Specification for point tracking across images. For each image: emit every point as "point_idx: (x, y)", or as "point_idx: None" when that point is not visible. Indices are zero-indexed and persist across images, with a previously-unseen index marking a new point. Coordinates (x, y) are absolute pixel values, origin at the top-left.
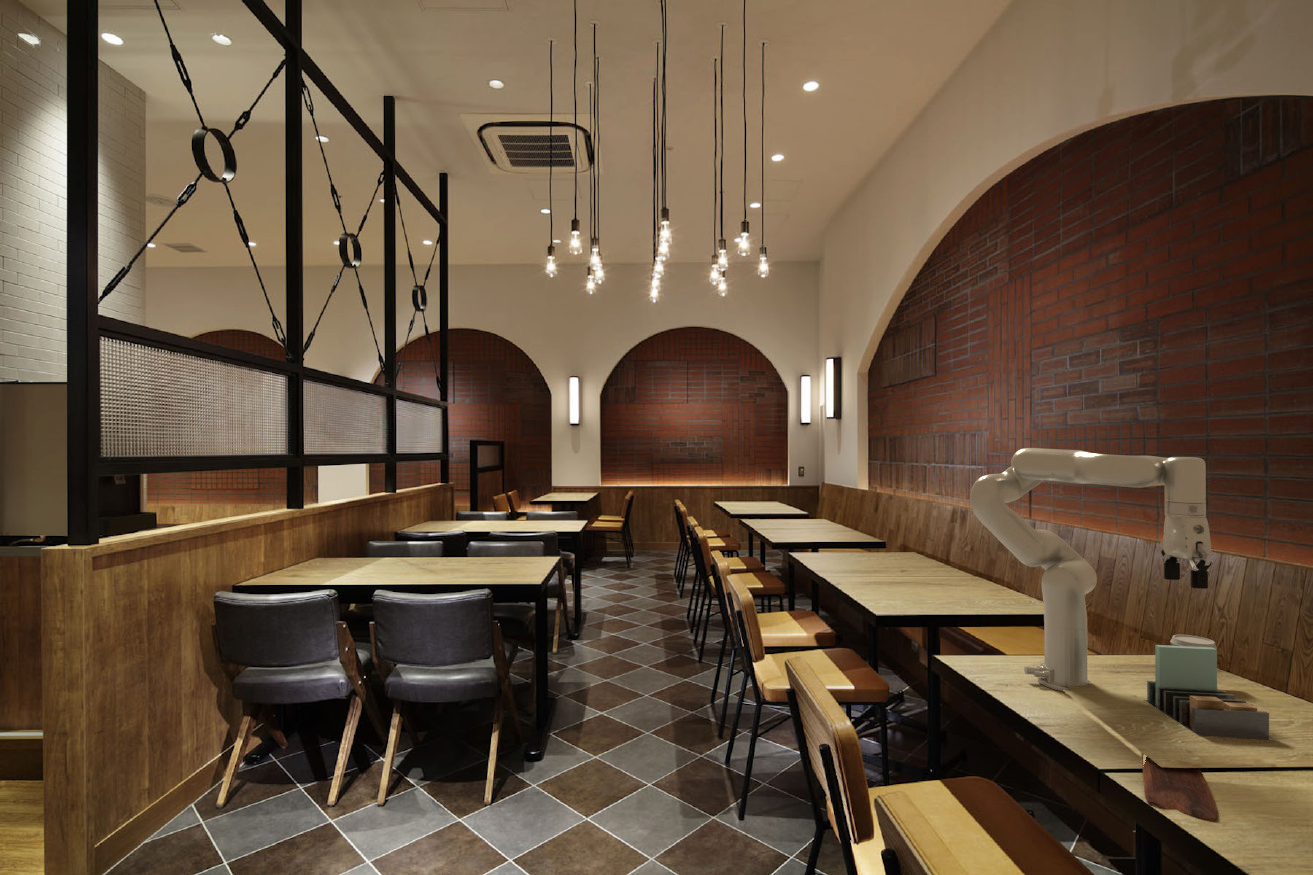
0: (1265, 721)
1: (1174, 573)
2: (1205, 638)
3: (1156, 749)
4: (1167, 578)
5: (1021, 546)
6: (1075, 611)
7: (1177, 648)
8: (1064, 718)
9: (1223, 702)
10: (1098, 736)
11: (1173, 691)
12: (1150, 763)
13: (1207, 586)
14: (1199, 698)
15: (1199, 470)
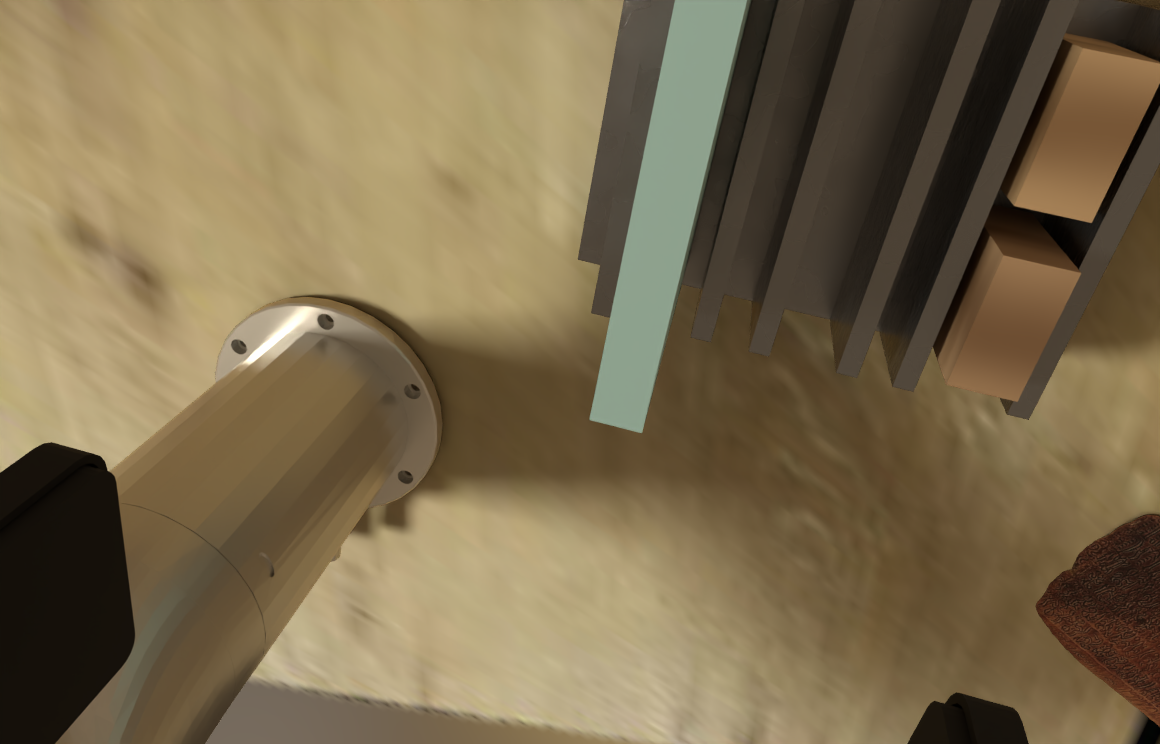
0: None
1: (33, 632)
2: None
3: (1028, 561)
4: (129, 646)
5: None
6: (197, 731)
7: (670, 316)
8: (701, 647)
9: (1022, 206)
10: (874, 656)
11: (766, 307)
12: (1145, 689)
13: (1023, 739)
14: (999, 369)
15: None
